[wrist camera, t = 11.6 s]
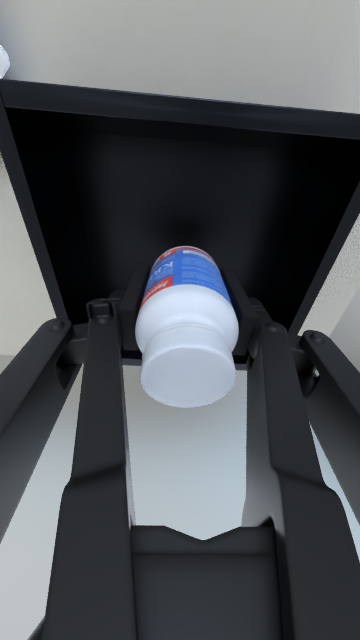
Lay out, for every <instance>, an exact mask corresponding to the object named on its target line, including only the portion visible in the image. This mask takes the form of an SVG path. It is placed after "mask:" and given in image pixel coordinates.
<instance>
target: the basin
mask: <svg viewBox="0 0 360 640" xmlns="http://www.w3.org/2000/svg"><path fill="white" fill-rule="evenodd" d="M0 152H1V155H2V158H3V161H4V164H5V167H6V170H7V173H8V175H9V178H10V181H11V184H12V187H13V190H14V193H15V196H16V199H17V202H18V205H19V208H20V211H21V214H22V217H23V220H24V223H25V226H26V229H27V232H28V235H29V237H30V240H31V243H32V246H33V249H34V252H35V255H36V258H37V261H38V264H39V267H40V270H41V273H42V276H43V279H44V282H45V285H46V288H47V291H48V294H49V297H50V299H51V302H52V305H53V308H54V311H55V314H56V317H57V318H67V319H69V320H70V321H71V323H72V325H77V324H83V323H87V322H89V319H88V315H87V310H86V304H87V303H88V302H90V301H92V300H94V299H99V298H107V299H108V297H109V296H110V294H111V293H113V292H114V291H116V290H121V291H127V288H128V286H129V284H130V282H131V279H132V277H133V275H134V273H135V270H136V268H137V266H138V264H139V262H150V272H151V269H152V267H153V265H154V263H155V262H156V260H157V259H158V258H159V257H160V256H161V255H162V254H163V253H165V252H166V251H168V250H170V249H172V248H175V247H180V246H191V247H196V248H198V249H201V250H203V251H204V252H206V253H207V254H208V255H209V256H210V257H211V258H212V259H213V260H214V262H215V263H216V265H217V267H218V269H219V272H220V273H221V268H222V267H230V268H232V269H233V271H234V273H235V275H236V277H237V279H238V280H239V282H240V284H241V286H242V288H243V289H244V291H245V293H246V295H247V297H251V298H256V299H257V300H259V301H260V302H261V303H262V305H263V307H264V308H265V310H266V311H267V313H268V314H269V316H270V318H271V319H272V321H275V322H278V323H280V324H281V325H283V326H284V327H285V328H286V330H287V333H290V334H294V335H297V334H298V332H299V331H300V329H301V327H302V325H303V323H304V321H305V319H306V317H307V315H308V313H309V311H310V309H311V307H312V305H313V303H314V301H315V299H316V297H317V295H318V293H319V291H320V290H321V288H322V286H323V284H324V282H325V280H326V278H327V276H328V274H329V272H330V270H331V268H332V266H333V264H334V262H335V260H336V258H337V256H338V254H339V252H340V250H341V249H342V247H343V245H344V243H345V241H346V239H347V237H348V235H349V233H350V231H351V229H352V227H353V225H354V223H355V221H356V219H357V217H358V215H359V213H360V114H354V113H344V112H334V111H324V110H313V109H303V108H293V107H283V106H273V105H262V104H252V103H242V102H232V101H221V100H211V99H201V98H191V97H181V96H170V95H160V94H150V93H140V92H130V91H119V90H109V89H99V88H89V87H79V86H68V85H58V84H48V83H38V82H27V81H17V80H7V79H0ZM249 354H250V353H249V350H248V348H247V351H246V354H245V355H232V357H233V361H234V365H235V369H236V370H245V369H244V368H245V365H246V363H247V360H248V357H249ZM121 355H122V365H134V366H141V364H142V352H141V351H140V349H139V347H138V348H137V350H123V343H122V346H121ZM246 371H247V369H246Z"/></svg>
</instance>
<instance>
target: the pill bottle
mask: <svg viewBox="0 0 360 640" xmlns="http://www.w3.org/2000/svg"><path fill="white" fill-rule="evenodd" d="M238 334H239V327H238V321H237V318H236V314H235V311H234V309H233V306H232V303H231V301H230V298H229V295H228V293H227V290H226V287H225V285H224V282H223V280H222V277H221V274H220V272H219V269H218V267H217V265H216V263H215V262H214V260H213V259H212V258H211V257H210V256H209V255H208V254H207V253H206V252H204V251H203V250H201V249H198V248H196V247H191V246H180V247H175V248H172V249H170V250H168V251H166V252H165V253H163V254H162V255H161V256H160V257H159V258H158V259H157V260H156V262H155V263H154V265H153V267H152V269H151V272H150V276H149V279H148V283H147V286H146V289H145V293H144V296H143V300H142V303H141V306H140V310H139V313H138V317H137V321H136V327H135V336H136V341H137V344H138V347H139V349H140V351H141V352H142V364H141V371H140V382H141V385H142V387H143V389H144V390H145V392H146V393H147V394H148V395H150V397H152V398H153V399H155V400H156V401H158V402H160V403H163V404H166V405H169V406H174V407H182V408H192V407H200V406H205V405H209V404H211V403H214V402H216V401H218V400H220V399H221V398H223V397H224V396H226V395H227V393H229V392H230V390H231V389H232V388H233V386H234V384H235V380H236V369H235V365H234V361H233V357H232V351H233V349H234V348H235V345H236V343H237V340H238Z"/></svg>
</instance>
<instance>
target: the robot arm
mask: <svg viewBox="0 0 360 640" xmlns="http://www.w3.org/2000/svg"><path fill="white" fill-rule="evenodd" d="M220 274H221V277H222V280H223V282H224V285H225V287H226V290H227V293H228V295H229V298H230V301H231V303H232V306H233V309H234V311H235V314H236V318H237V321H238V327H239V334H238V340H237V343H236V345H235V348H234V349H233V351H232V355H245V354H246V351H247V348H248V350H249V353H250V354H249V357H248V360H247V363H246V365H245V368H244V369H245V370H246V369H247V446H246V499H245V504H244V508H243V514H242V526H241V527H238V528H235V529H233V530H230V531H228V532H225V533H222V534H220V535H218V536H215V537H212V538H210V539H207V540H199V539H197V538H194V537H191V536H189V535H186V534H184V533H181V532H179V531H176V530H174V529H171V528H168V527H166V526H140V525H139V526H138V525H137V526H136V521H135V511H134V502H133V492H132V480H131V468H130V455H129V443H128V430H127V418H126V406H125V393H124V380H123V368H122V355H121V346H122V343H123V350H137V348H138V344H137V341H136V336H135V327H136V321H137V317H138V313H139V310H140V306H141V303H142V300H143V296H144V293H145V289H146V286H147V283H148V279H149V276H150V262H139V264H138V266H137V268H136V270H135V273H134V275H133V277H132V279H131V282H130V284H129V286H128V288H127V291H121V290H116V291H114V292H113V293H111V294H110V296H109V297H108V299H107V298H99V299H94V300H92V301H90V302H88V303H87V304H86V310H87V315H88V319H89V322H87V323H83V324H77V325H72V323H71V321H70V320H69V319H67V318H55V319H51V320H49V321H47V322H45V323H44V324H43V325H41V327H40V328H39V329H38V330H37V331H36V333H35V334H34V335H33V336H32V337H31V339H30V340H29V341H28V342H27V343H26V345H25V346H24V347H23V348H22V349H21V351H20V352H19V353H18V354H17V355H16V357H15V358H14V359H13V360H12V361H11V363H10V364H9V365H8V366H7V367H6V368H5V370H4V371H3V372H2V373H1V374H0V543H1V541H2V539H3V536H4V534H5V532H6V530H7V528H8V526H9V523H10V521H11V519H12V517H13V515H14V512H15V510H16V508H17V506H18V503H19V501H20V499H21V497H22V495H23V493H24V490H25V488H26V486H27V484H28V482H29V479H30V477H31V475H32V473H33V471H34V469H35V466H36V464H37V462H38V460H39V458H40V456H41V453H42V451H43V449H44V447H45V444H46V442H47V440H48V438H49V436H50V433H51V431H52V429H53V427H54V425H55V422H56V420H57V418H58V416H59V414H60V412H61V410H62V407H63V405H64V403H65V401H66V399H67V396H68V394H69V392H70V389H71V387H72V385H73V383H74V381H75V379H76V377H77V375H78V372H79V370H80V368H81V366H82V363H84V367H83V377H82V385H81V394H80V403H79V411H78V421H77V429H76V437H75V446H74V455H73V464H72V473H71V478H70V481H69V482H68V483H67V485H66V486H65V488H64V491H63V494H62V499H61V505H60V511H59V518H58V526H57V533H56V540H55V548H54V556H53V562H52V570H51V577H50V584H49V592H48V599H47V606H46V614H45V616H44V618H43V619H42V620H41V622H40V623H39V624H38V626H37V627H36V629H35V630H34V631H33V633H32V634H31V635H30V637H29V638H28V640H360V562H359V559H358V555H357V552H356V548H355V545H354V541H353V538H352V534H351V531H350V527H349V524H348V520H347V517H346V513H345V510H344V508H343V505H342V502H341V500H340V498H339V496H338V495H337V494H336V492H335V491H334V490H332V489H331V488H329V487H328V486H327V485H326V484H325V482H324V480H323V477H322V473H321V469H320V465H319V461H318V457H317V453H316V449H315V445H314V441H313V436H312V432H311V428H310V424H311V426H312V428H313V430H314V432H315V434H316V436H317V439H318V441H319V443H320V445H321V447H322V449H323V451H324V453H325V455H326V457H327V459H328V461H329V463H330V465H331V467H332V469H333V471H334V473H335V475H336V477H337V480H338V482H339V484H340V486H341V488H342V490H343V492H344V494H345V496H346V498H347V500H348V502H349V504H350V506H351V508H352V510H353V512H354V514H355V516H356V519H357V521H358V523H359V525H360V373H359V371H358V370H357V369H356V368H355V367H354V366H353V365H352V363H351V362H350V361H349V360H348V359H347V357H346V356H345V355H344V354H343V353H342V352H341V350H340V349H339V348H338V347H337V346H336V345H335V343H333V341H332V340H331V339H330V338H329V337H328V336H326V335H325V334H323V333H321V332H319V331H314V330H307V331H305V332H304V333H303V335H302V336H298V335H294V334H290V333H287V330H286V328H285V327H284V326H283V325H281V324H280V323H278V322H275V321H272V319H271V318H270V316H269V314H268V313H267V311H266V310H265V308H264V307H263V305H262V303H261V302H260V301H259V300H257V299H256V298H251V297H247V295H246V293H245V291H244V289H243V288H242V286H241V284H240V282H239V280H238V279H237V277H236V275H235V273H234V271H233V269H232V268H230V267H222V268H221V273H220ZM316 369H317V371H318V372H319V376H318V377H317V375H316V374H315V370H316ZM309 422H310V424H309Z"/></svg>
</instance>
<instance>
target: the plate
mask: <svg viewBox="0 0 360 640" xmlns="http://www.w3.org/2000/svg"><path fill="white" fill-rule="evenodd" d="M9 67H10V61H9V56H8V54H7V53H6V51H5V50H4V49H3V47H2V46H1V45H0V79H2V78H3V76H4V75H5V73H6V72H7V70H8V68H9Z"/></svg>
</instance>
